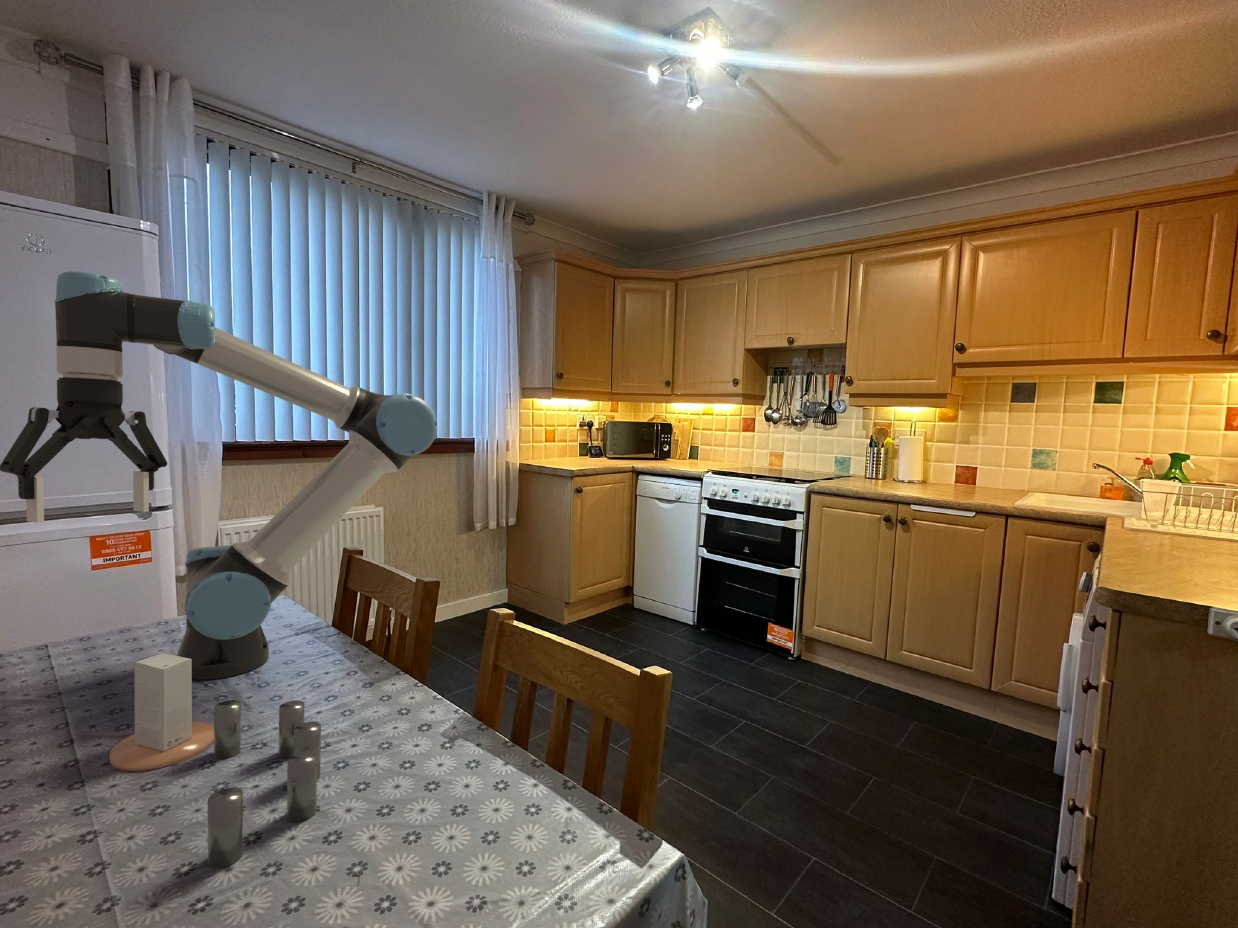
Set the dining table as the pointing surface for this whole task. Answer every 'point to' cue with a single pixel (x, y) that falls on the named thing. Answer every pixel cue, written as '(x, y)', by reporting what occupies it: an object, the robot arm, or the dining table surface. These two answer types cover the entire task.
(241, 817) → the set of grey cylinders
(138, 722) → the skincare box
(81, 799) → the dining table surface
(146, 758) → the saucer
